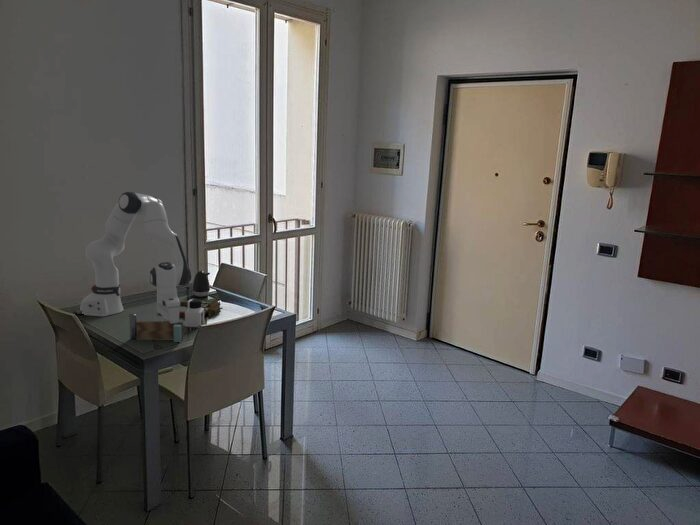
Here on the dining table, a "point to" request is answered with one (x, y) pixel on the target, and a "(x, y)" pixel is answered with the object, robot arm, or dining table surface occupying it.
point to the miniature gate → (205, 307)
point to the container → (194, 313)
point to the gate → (156, 330)
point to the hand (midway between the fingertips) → (167, 326)
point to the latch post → (177, 332)
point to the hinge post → (133, 326)
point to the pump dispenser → (201, 284)
